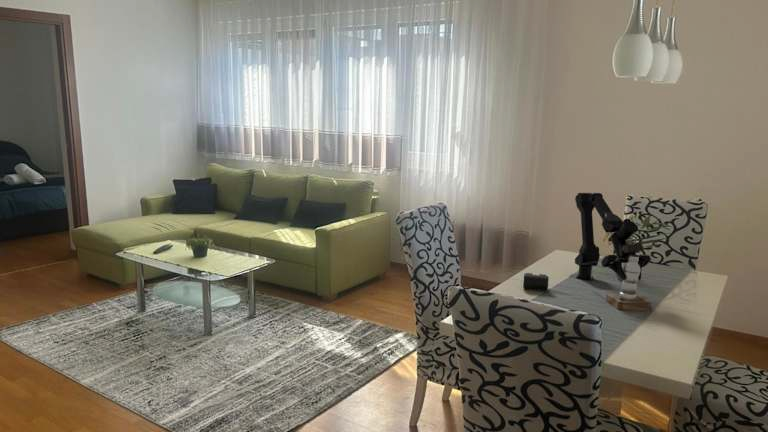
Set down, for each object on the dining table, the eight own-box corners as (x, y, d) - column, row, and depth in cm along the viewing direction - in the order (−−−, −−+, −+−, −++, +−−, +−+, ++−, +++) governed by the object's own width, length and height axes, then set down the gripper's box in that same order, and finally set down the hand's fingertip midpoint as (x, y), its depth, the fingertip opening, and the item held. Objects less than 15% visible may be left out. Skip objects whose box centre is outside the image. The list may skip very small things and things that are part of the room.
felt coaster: (592, 291, 246) (592, 290, 246) (618, 290, 248) (618, 289, 248) (607, 300, 235) (607, 299, 234) (634, 300, 236) (634, 299, 236)
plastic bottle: (627, 307, 227) (635, 258, 223) (613, 301, 233) (621, 254, 229) (638, 305, 230) (646, 257, 226) (624, 300, 236) (632, 253, 232)
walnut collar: (605, 300, 234) (606, 293, 234) (636, 300, 236) (636, 293, 236) (619, 310, 224) (620, 302, 224) (651, 309, 226) (652, 302, 226)
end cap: (522, 291, 243) (524, 275, 242) (522, 286, 250) (524, 271, 249) (547, 293, 241) (548, 278, 240) (546, 288, 248) (548, 273, 246)
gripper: (608, 235, 229) (619, 270, 220) (651, 235, 231) (664, 269, 223) (596, 249, 238) (606, 283, 229) (638, 249, 240) (650, 283, 232)
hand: (632, 279), depth 228 cm, fingers closed on plastic bottle, 6 cm apart
